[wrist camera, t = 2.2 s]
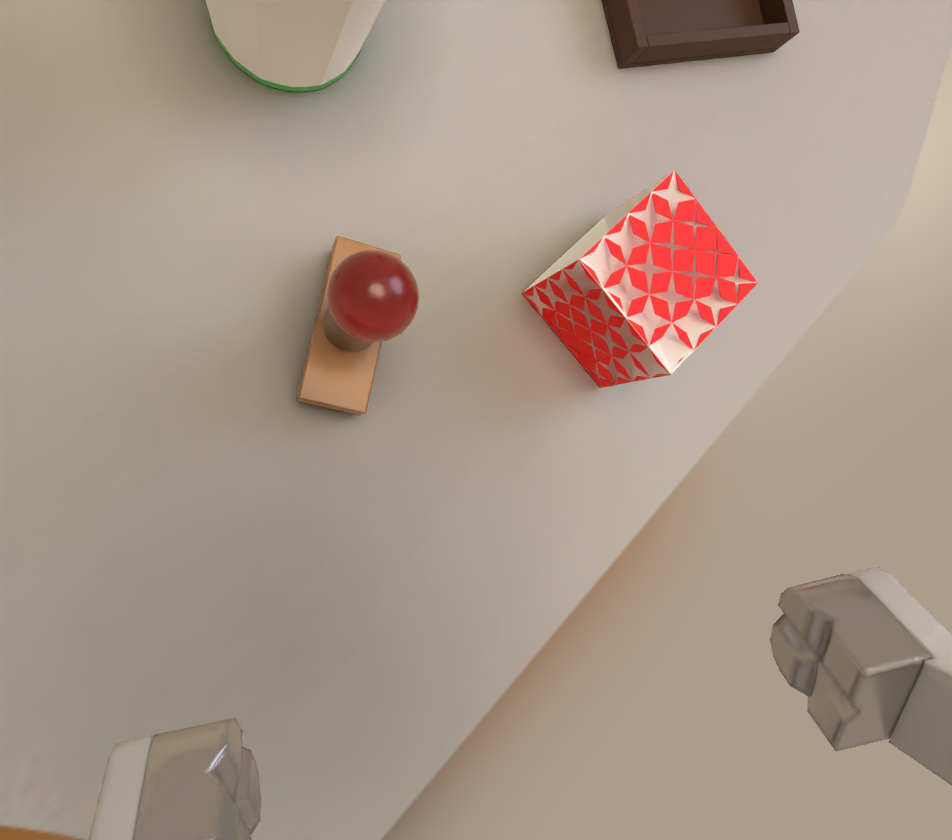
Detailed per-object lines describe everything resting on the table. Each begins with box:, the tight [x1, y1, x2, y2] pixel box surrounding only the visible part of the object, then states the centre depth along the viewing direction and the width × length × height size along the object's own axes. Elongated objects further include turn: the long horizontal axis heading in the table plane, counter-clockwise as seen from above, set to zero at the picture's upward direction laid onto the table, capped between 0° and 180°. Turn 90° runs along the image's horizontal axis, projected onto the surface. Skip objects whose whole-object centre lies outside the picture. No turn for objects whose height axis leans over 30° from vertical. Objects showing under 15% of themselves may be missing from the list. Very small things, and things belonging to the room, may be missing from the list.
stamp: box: [297, 236, 419, 415], centre depth 34 cm, size 9×4×12 cm, turn 168°
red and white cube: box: [522, 170, 758, 388], centre depth 41 cm, size 8×8×8 cm
